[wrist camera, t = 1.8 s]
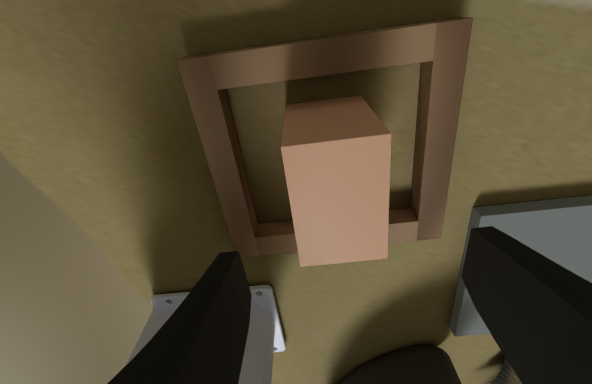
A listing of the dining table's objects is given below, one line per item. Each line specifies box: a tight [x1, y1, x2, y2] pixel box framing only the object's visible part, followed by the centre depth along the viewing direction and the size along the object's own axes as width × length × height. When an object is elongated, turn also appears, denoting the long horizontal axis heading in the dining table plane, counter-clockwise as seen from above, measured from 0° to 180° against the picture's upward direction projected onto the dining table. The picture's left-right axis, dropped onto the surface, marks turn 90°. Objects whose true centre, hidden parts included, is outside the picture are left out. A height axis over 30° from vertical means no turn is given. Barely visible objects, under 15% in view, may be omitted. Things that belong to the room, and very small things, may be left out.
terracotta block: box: [281, 95, 391, 267], centre depth 15 cm, size 4×6×6 cm, turn 8°
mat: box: [449, 195, 592, 336], centre depth 22 cm, size 12×12×1 cm
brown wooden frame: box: [176, 17, 473, 258], centre depth 17 cm, size 13×12×2 cm
